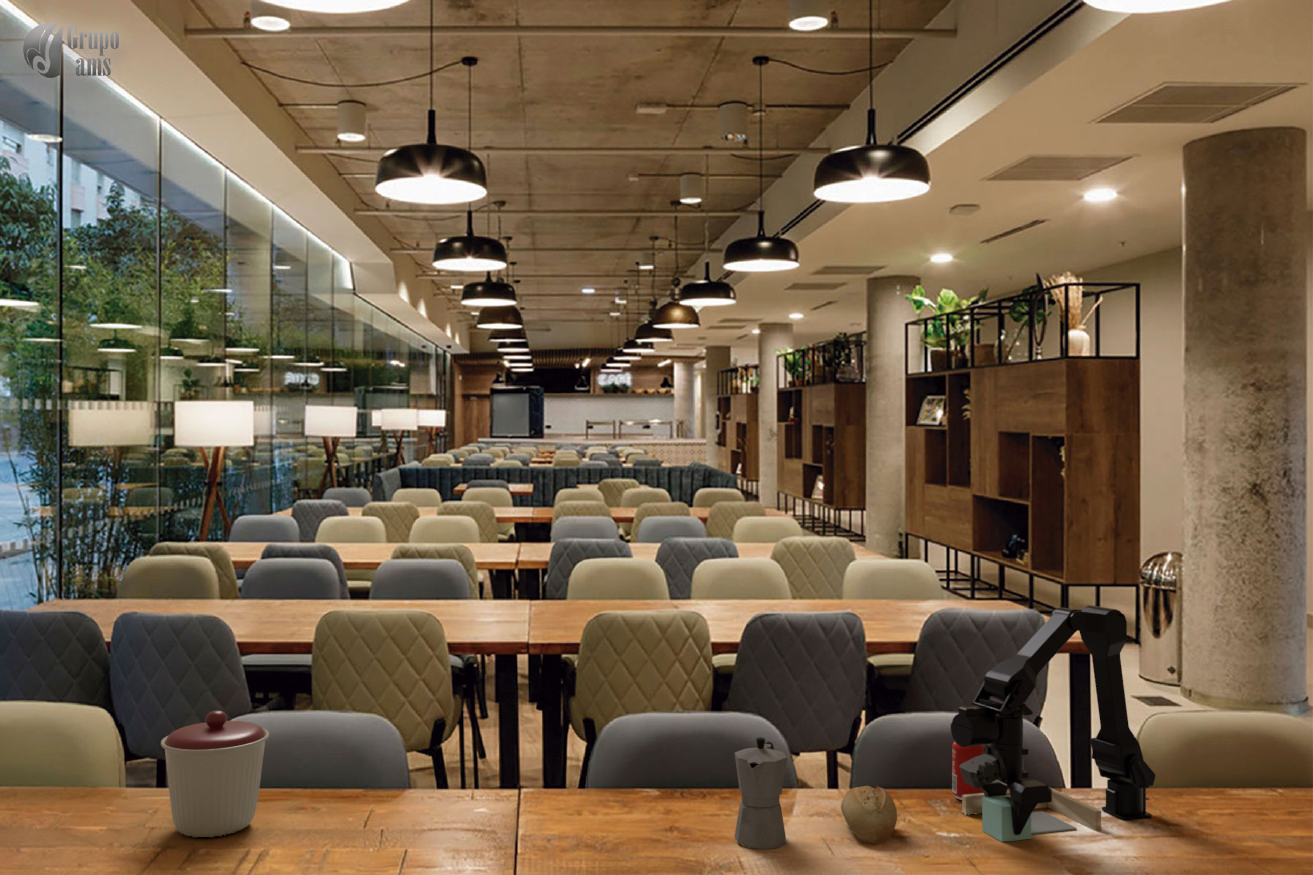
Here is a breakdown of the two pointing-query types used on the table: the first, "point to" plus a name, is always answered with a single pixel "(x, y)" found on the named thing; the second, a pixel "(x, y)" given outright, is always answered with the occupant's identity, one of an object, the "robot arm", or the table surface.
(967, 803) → the wall side
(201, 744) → the canister
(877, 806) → the brown rounded lump
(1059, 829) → the mat
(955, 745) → the beverage can
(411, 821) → the table surface
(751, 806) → the coffeepot
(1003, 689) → the robot arm
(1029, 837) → the cube
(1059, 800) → the wall back
